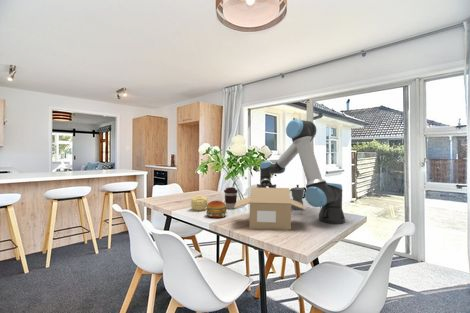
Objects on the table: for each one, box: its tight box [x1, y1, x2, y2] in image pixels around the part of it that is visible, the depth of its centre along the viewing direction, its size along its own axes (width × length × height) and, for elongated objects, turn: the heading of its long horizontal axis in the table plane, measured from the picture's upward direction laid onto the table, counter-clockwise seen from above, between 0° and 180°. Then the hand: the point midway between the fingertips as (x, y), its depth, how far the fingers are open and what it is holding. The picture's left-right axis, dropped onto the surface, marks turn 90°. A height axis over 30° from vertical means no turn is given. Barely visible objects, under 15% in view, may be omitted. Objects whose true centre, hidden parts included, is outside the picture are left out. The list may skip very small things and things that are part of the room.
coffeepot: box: [289, 184, 307, 211], centre depth 175 cm, size 15×9×18 cm, turn 118°
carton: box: [233, 196, 308, 231], centre depth 140 cm, size 39×27×14 cm
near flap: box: [250, 186, 291, 204], centre depth 129 cm, size 21×9×1 cm
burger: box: [205, 200, 228, 219], centre depth 154 cm, size 13×14×10 cm
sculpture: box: [190, 194, 208, 212], centre depth 170 cm, size 12×12×11 cm
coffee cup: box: [223, 186, 238, 210], centre depth 176 cm, size 10×10×15 cm
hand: (267, 190), depth 138 cm, fingers closed
